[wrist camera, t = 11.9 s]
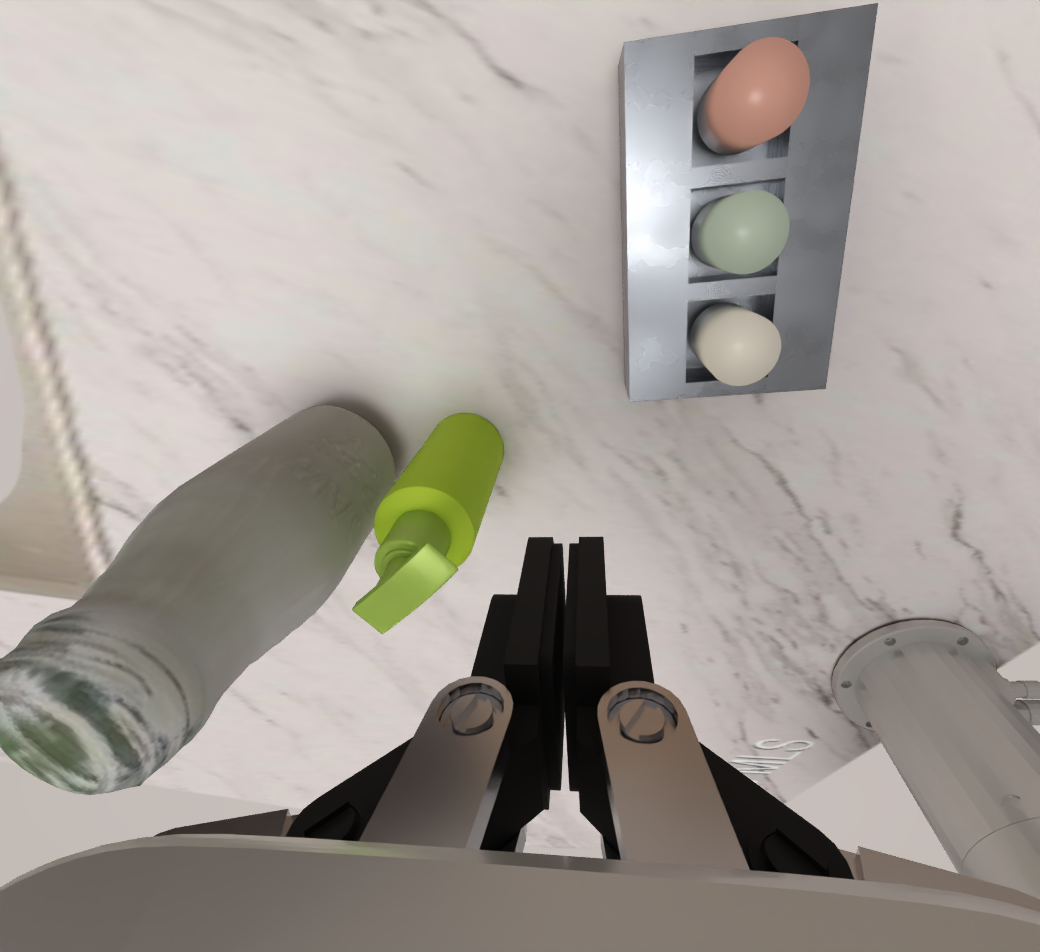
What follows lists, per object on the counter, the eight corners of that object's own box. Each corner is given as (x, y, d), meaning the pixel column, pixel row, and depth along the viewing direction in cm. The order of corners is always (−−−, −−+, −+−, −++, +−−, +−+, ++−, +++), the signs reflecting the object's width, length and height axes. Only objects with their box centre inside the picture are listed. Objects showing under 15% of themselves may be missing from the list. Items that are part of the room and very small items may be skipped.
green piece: (762, 191, 31) (793, 185, 27) (757, 264, 33) (785, 270, 28) (692, 199, 32) (710, 195, 27) (690, 271, 33) (707, 277, 29)
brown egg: (777, 62, 28) (815, 30, 24) (770, 150, 30) (804, 136, 25) (698, 73, 29) (720, 44, 24) (695, 159, 30) (716, 147, 26)
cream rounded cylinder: (756, 299, 33) (784, 310, 29) (752, 363, 35) (777, 383, 30) (690, 305, 34) (707, 317, 29) (688, 368, 35) (704, 388, 31)
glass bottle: (267, 439, 44) (-156, 724, 19) (351, 365, 41) (-26, 590, 15) (351, 525, 47) (81, 876, 21) (437, 462, 43) (236, 790, 18)
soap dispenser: (528, 442, 42) (489, 604, 24) (468, 494, 44) (391, 678, 26) (474, 388, 40) (389, 517, 22) (416, 445, 43) (296, 603, 25)
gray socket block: (837, 34, 30) (878, 3, 26) (798, 371, 37) (825, 388, 33) (618, 66, 31) (623, 42, 27) (624, 384, 39) (630, 401, 35)
